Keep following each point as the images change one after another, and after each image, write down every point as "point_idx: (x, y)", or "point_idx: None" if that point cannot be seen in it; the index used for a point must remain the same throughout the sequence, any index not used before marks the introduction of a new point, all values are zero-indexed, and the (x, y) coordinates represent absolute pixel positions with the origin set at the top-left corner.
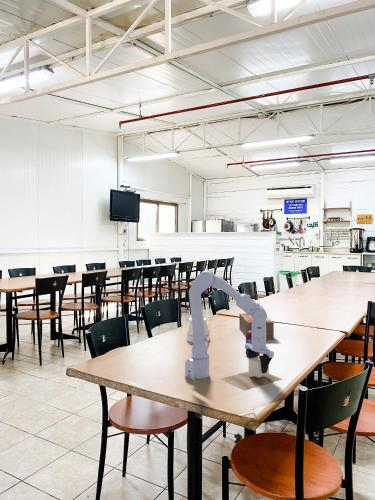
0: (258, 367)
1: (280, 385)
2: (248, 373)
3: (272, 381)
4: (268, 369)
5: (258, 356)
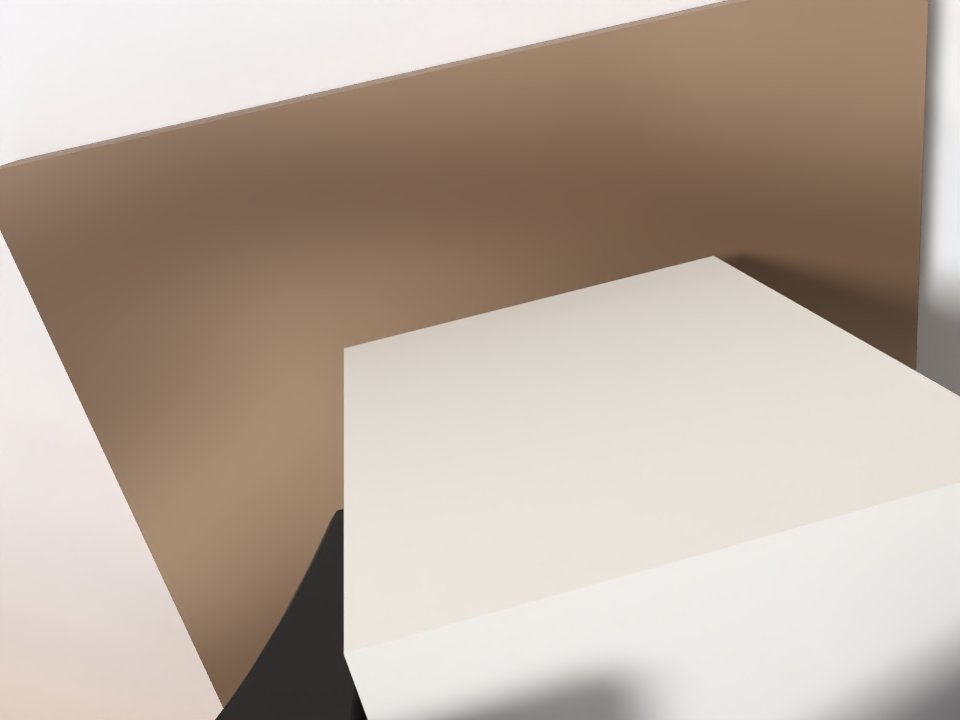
0: None
1: (934, 110)
2: (267, 543)
3: (900, 288)
4: (792, 311)
5: (377, 682)
